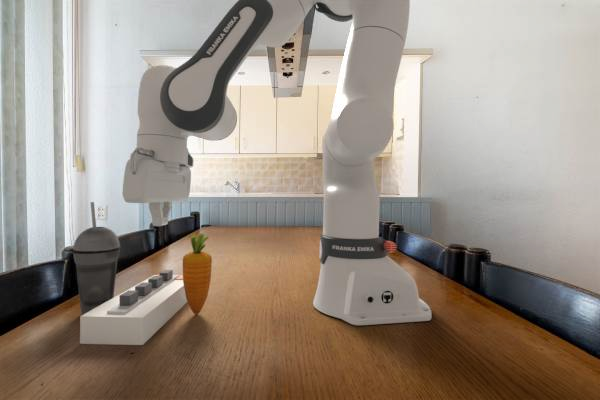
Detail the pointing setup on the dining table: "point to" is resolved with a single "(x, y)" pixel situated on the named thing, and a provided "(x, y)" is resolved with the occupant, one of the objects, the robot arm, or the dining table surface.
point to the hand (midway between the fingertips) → (160, 225)
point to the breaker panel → (135, 312)
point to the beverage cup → (96, 264)
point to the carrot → (197, 274)
